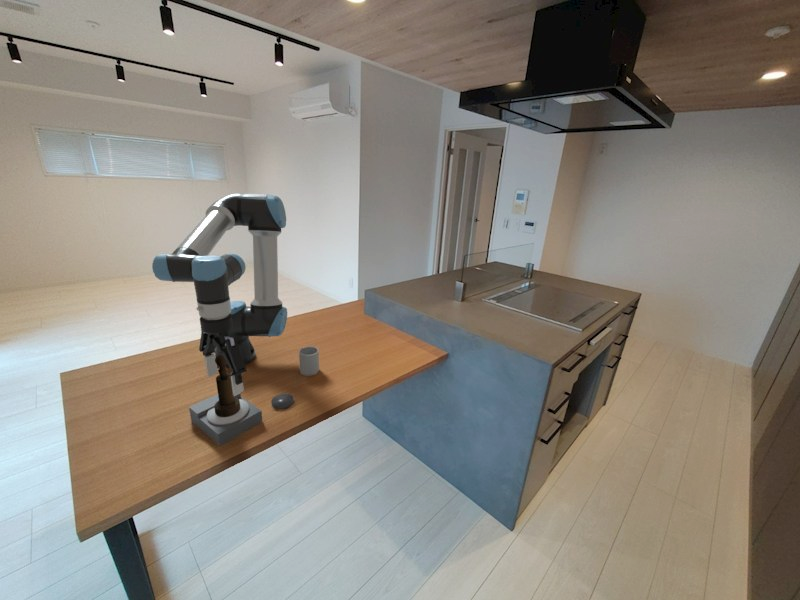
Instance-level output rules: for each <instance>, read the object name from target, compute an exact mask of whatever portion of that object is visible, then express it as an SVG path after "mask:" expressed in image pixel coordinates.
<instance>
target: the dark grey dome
mask: <svg viewBox="0 0 800 600" xmlns="http://www.w3.org/2000/svg"><path fill="white" fill-rule="evenodd" d="M294 398H295V397H294V395H292V394H291V393H284V392H283V393H279V394H276V395H275V396H273V397H272V398H271V400H270V402H271V403H270V404H271V407H272V408H273V409H275V410H280V411H281V410H287V409H289V408H290V407H292V406H293V405H294V403H295V400H294Z"/></svg>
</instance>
